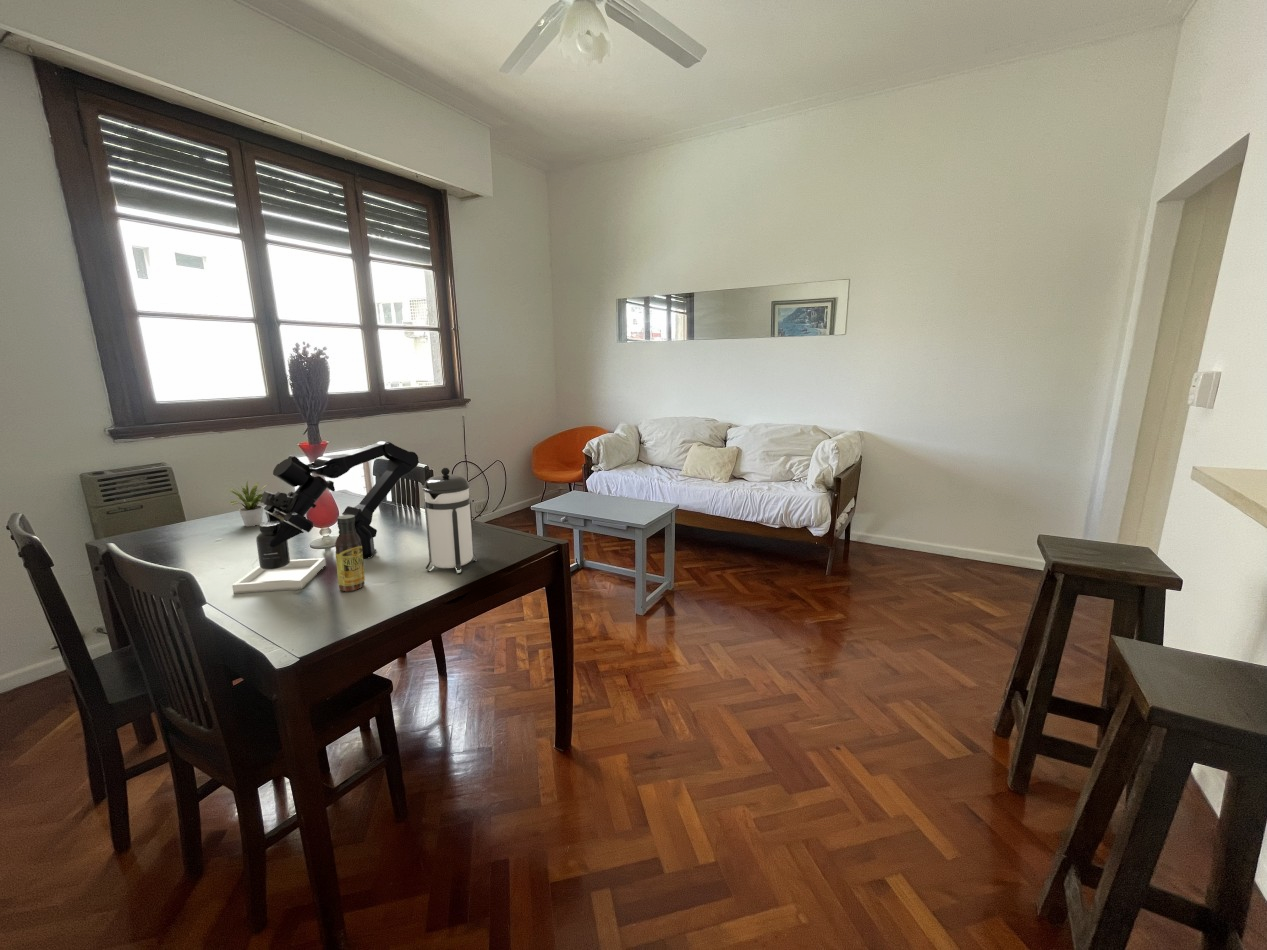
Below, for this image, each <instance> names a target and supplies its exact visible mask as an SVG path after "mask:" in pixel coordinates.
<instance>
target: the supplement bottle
mask: <svg viewBox="0 0 1267 950" xmlns="http://www.w3.org/2000/svg"><path fill="white" fill-rule="evenodd" d="M267 521H268V520H267ZM267 521H264V522H263V521H262V523H261V524H259V525H258V527H259V529H258V530H259V534H257V536H256V538H255V541H256V542H255V543H256V549H257V554H258V556H257V557H258V562H259V565H260V567H261V568H262V569H268V570H269V569H277V568H281V567H284V566H286V565H288V564H289V563H290V560H291V557H290V547H289V542H288V541H289V539H288V540H286V541H285V542H283V543H281V544H279V545H277V546H275V547H271V546H269V545H270V543H271V541H272V540H273V538H274V537H275V535H276V534H277V532H278V530H279V529H280V527H281V525H280V521H268V522H267Z"/></svg>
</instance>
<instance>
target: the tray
mask: <svg viewBox="0 0 1267 950" xmlns="http://www.w3.org/2000/svg"><path fill="white" fill-rule="evenodd" d="M325 558H326V557H318V558H301V559H297V558H296V559H290V563H289V564H288V565H286V566H284V567H281V568H277V569H269V570H268V569H262V568H261V567H260V564H259V565H257V566H256V567H254V568H253V569H252V570H251V571H249V572H248V573H246V574H245V575H244V576H242V577H241V578H240V579H238V580H237V581H236V582H234V583H233V584H232V585H231V587H232V592H233V594H234V595H237V594H252V593H263V592H264V593H267V592H279V591H280V592H281V591H294V590H296V591H297V590H298V589H299V590H303V588H305V587H306V585H308V583H310V582H311V581H312V580H313V579H314V578H315V577H316V576H317V575H318V574H319V573H320V572H321V571H322V570H323V569H324V568H325V567H326V566H327V565H326V559H325ZM324 566H325V567H324ZM323 567H324V568H323ZM321 569H322V570H321ZM320 570H321V571H320ZM319 571H320V572H319ZM318 572H319V573H318ZM317 573H318V574H317Z"/></svg>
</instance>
